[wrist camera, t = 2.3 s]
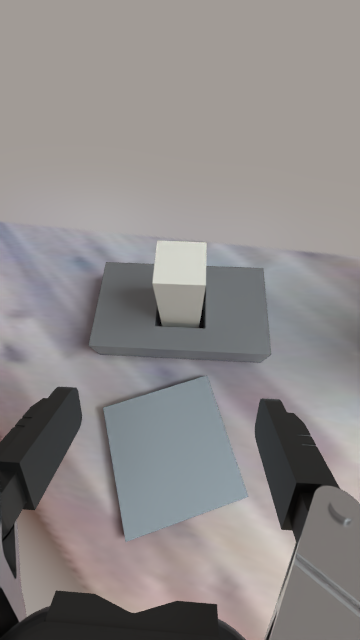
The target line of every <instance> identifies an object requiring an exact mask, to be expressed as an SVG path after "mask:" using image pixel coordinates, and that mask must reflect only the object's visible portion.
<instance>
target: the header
mask: <svg viewBox="0 0 360 640" xmlns="http://www.w3.org/2000/svg"><path fill="white" fill-rule="evenodd" d="M153 273H154V264H139V263H113V262H106V265H105V269H104V274H103V279H102V284H101V289H100V293H99V298H98V303H97V308H96V313H95V317H94V322H93V327H92V332H91V337H90V341H89V346H90V347H91V348H92V349H94V350H95V351H96V352H98V353H99V354H103V355H122V356H141V357H161V358H180V359H199V360H218V361H238V362H257V363H261V362H262V361H263V360H265V359H266V358H267V357H269V356H270V355H271V348H270V337H269V326H268V315H267V304H266V293H265V282H264V271H263V268H244V267H217V266H206V288H205V294H204V313H203V328H183V327H162V326H159V322H160V314H159V310H158V306H157V301H156V297H155V293H154V288H153V284H152V282H153Z"/></svg>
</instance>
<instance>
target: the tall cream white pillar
mask: <svg viewBox="0 0 360 640" xmlns="http://www.w3.org/2000/svg"><path fill="white" fill-rule="evenodd" d="M206 248H207V242H181V241H157V247H156V256H155V264H154V273H153V282H152V284H153V288H154V293H155V297H156V301H157V306H158V310H159V314H160V319H161V323H162V327H183V328H199V324H200V318H201V312H202V306H203V300H204V294H205V288H206Z"/></svg>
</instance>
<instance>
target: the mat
mask: <svg viewBox="0 0 360 640" xmlns="http://www.w3.org/2000/svg"><path fill="white" fill-rule="evenodd" d="M103 410H104V416H105V422H106V428H107V434H108V440H109V446H110V451H111V457H112V463H113V469H114V475H115V481H116V487H117V493H118V499H119V505H120V511H121V517H122V523H123V529H124V535H125V541H126V542H127V541H130V540H132V539H135V538H138V537H141V536H143V535H146V534H149V533H151V532H154V531H157V530H160V529H162V528H165V527H168V526H170V525H173V524H176V523H178V522H181V521H184V520H187V519H189V518H192V517H195V516H197V515H200V514H203V513H206V512H208V511H211V510H214V509H216V508H219V507H222V506H224V505H227V504H230V503H233V502H235V501H238V500H241V499H243V498H246V497H248V494H247V491H246V488H245V485H244V482H243V479H242V476H241V473H240V471H239V468H238V465H237V462H236V459H235V456H234V453H233V450H232V447H231V444H230V441H229V438H228V435H227V432H226V430H225V427H224V424H223V421H222V418H221V415H220V412H219V409H218V406H217V403H216V400H215V397H214V394H213V391H212V388H211V386H210V383H209V380H208V377H207V376H203V377H200V378H197V379H194V380H190V381H187V382H184V383H181V384H178V385H174V386H171V387H168V388H165V389H162V390H158V391H155V392H152V393H149V394H146V395H142V396H139V397H136V398H133V399H129V400H126V401H123V402H120V403H117V404H113V405H110V406H107V407H104V408H103Z"/></svg>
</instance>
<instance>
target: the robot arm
mask: <svg viewBox="0 0 360 640" xmlns="http://www.w3.org/2000/svg"><path fill="white" fill-rule="evenodd" d="M81 421H82V412H81V406H80V400H79V394H78V390H77V388H72V387H57V388H56V389H55V390H54V391H53V392H52V394H51V395H50V396H49V397H48V398H43V399H42V400H40V401H39V402H37V403H36V404H34V405H33V406H31V407H30V409H29V410H28V411H27V412H26V413H25V414H24V416H23V418H22V419H20V420H19V421H18V422H17V424H16V425H15V427H13V428H12V429H11V431H10V432H9V433H8V434H7V435H6V436H5V437H4V439H3V440H2V441H1V442H0V640H246V639H245V638H244V637H243V636H242V635H240V634H239V633H238V632H237V631H236V630H235V629H234V628H232V627H231V626H229V625H228V624H227V623H225V622H223V621H221V620H219V619H218V614H217V604H207V603H195V602H184V601H175V602H171V603H168V604H165V605H161V606H158V607H155V608H151V609H148V610H145V611H142V612H138V613H131V612H128V611H126V610H124V609H122V608H121V607H119V606H117V605H115V604H113V603H111V602H109V601H107V600H105V599H103V598H102V597H100V596H98V595H96V594H90V593H78V592H66V591H56V592H55V595H54V598H53V600H52V603H51V606H49V607H45V608H43V609H41V610H39V611H37V612H35V613H33V614H31V615H30V616H28V617H26V609H25V604H24V598H23V594H22V589H21V580H20V562H19V544H18V527H17V521H16V519H17V518H18V516H19V514H20V513H21V511H22V509H27V510H35V509H36V507H37V505H38V504H39V502H40V500H41V498H42V496H43V494H44V493H45V491H46V489H47V487H48V485H49V483H50V482H51V480H52V478H53V476H54V474H55V472H56V471H57V469H58V467H59V465H60V463H61V461H62V460H63V458H64V456H65V454H66V452H67V450H68V449H69V447H70V445H71V443H72V441H73V439H74V437H75V436H76V434H77V432H78V430H79V428H80V425H81ZM255 438H256V442H257V446H258V449H259V453H260V456H261V460H262V463H263V467H264V470H265V474H266V477H267V481H268V484H269V488H270V491H271V495H272V498H273V502H274V505H275V509H276V512H277V516H278V519H279V523H280V526H281V530H293V533H294V536H295V540H296V544H295V547H294V550H293V553H292V556H291V559H290V562H289V566H288V569H287V572H286V575H285V578H284V581H283V584H282V587H281V590H280V594H279V597H278V600H277V603H276V606H275V609H274V612H273V615H272V618H271V621H270V624H269V626H268V629H267V632H266V635H265V638H264V640H360V504H359V502H358V501H357V500H355V499H354V498H353V497H352V496H351V495H350V494H348V493H347V492H345V491H343V490H341V489H340V488H339V486H338V484H337V482H336V481H335V479H334V477H333V475H332V473H331V471H330V470H329V468H328V466H327V464H326V462H325V460H324V459H323V457H322V455H321V453H320V451H319V450H318V448H317V447H316V444H315V442H314V440H313V439H312V437H310V433H309V431H308V429H307V428H306V426H305V424H304V423H303V422H302V421H301V420H300V419H299V418H298V417H297V416H296V415H295V414H294V413H287V412H286V410H285V408H284V406H283V404H282V402H281V401H280V400H279V399H261V400H260V403H259V408H258V413H257V418H256V423H255Z"/></svg>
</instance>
